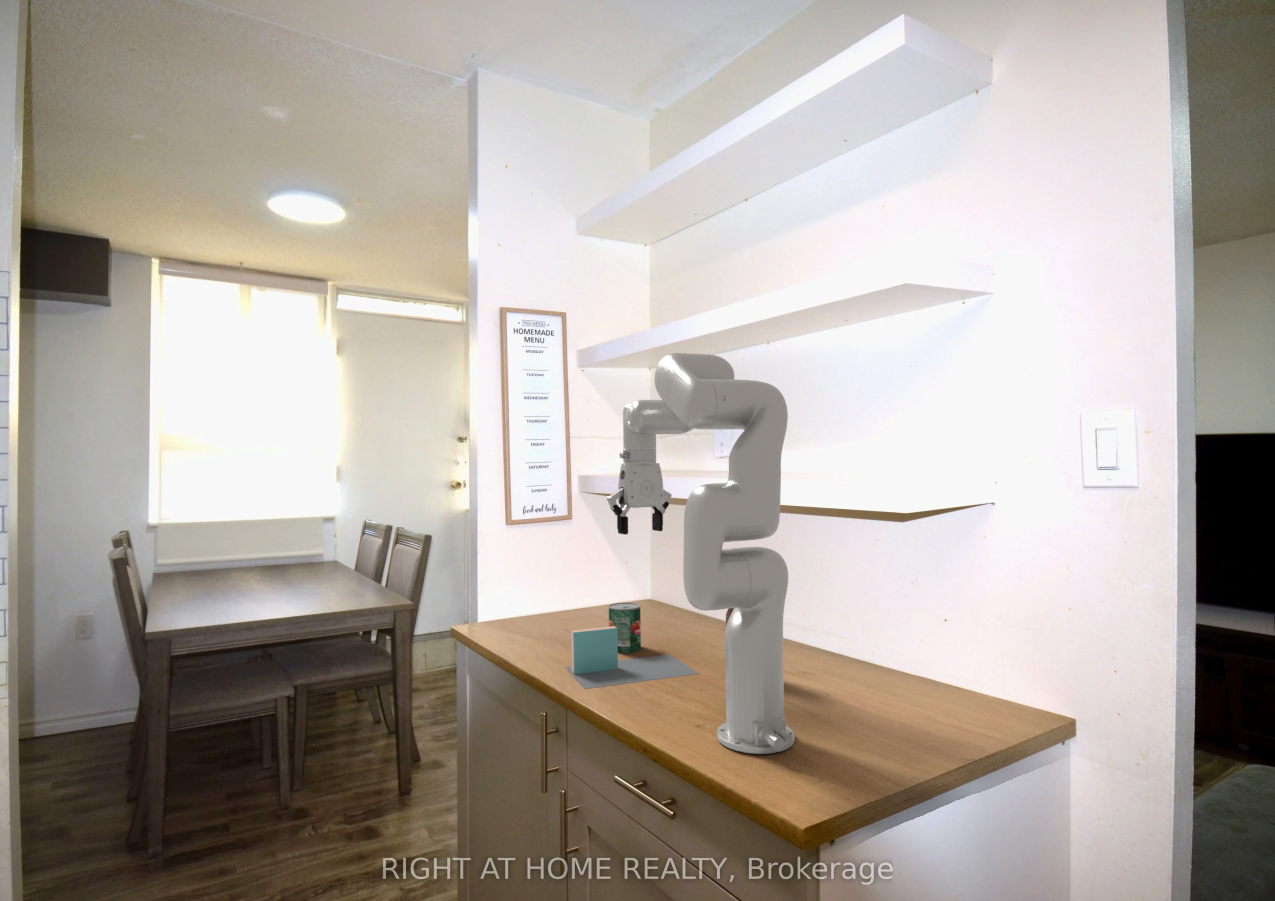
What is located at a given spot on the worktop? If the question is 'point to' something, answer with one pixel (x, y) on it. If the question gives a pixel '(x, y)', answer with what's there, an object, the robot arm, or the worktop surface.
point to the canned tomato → (626, 626)
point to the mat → (635, 671)
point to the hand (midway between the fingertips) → (640, 532)
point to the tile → (594, 650)
